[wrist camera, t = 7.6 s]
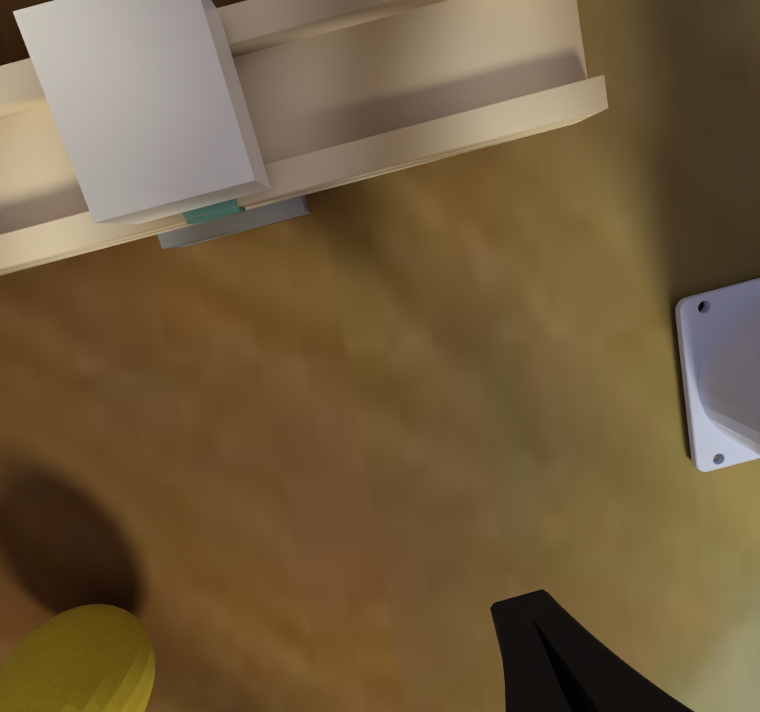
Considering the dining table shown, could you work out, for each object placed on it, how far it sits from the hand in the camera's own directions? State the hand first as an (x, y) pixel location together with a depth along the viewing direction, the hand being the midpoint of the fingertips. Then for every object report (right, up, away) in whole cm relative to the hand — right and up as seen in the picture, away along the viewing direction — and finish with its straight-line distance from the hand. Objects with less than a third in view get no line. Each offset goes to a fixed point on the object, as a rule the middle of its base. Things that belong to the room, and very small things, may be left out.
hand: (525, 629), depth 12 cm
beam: (-9, +14, +7) cm, 18 cm away
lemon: (-15, -5, +11) cm, 20 cm away
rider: (-9, +13, +3) cm, 16 cm away
